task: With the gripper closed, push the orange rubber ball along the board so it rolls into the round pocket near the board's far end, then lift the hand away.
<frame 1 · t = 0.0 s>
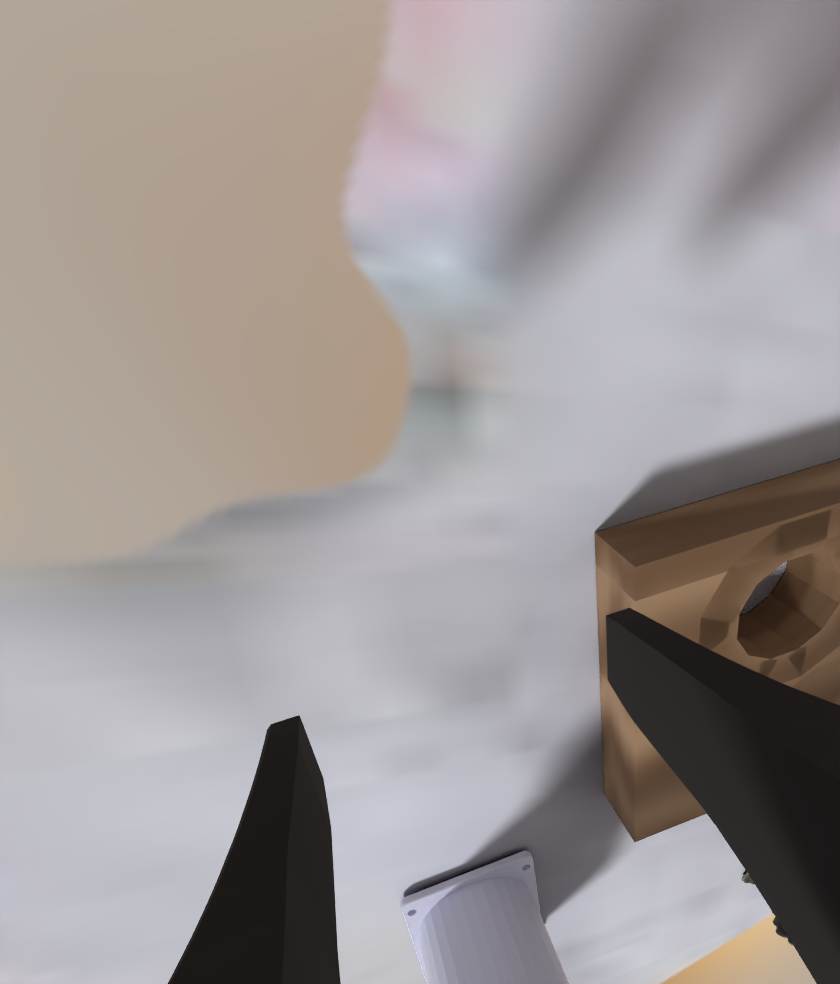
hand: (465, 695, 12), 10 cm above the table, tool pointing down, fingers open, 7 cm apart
board: (734, 634, 30), on the table
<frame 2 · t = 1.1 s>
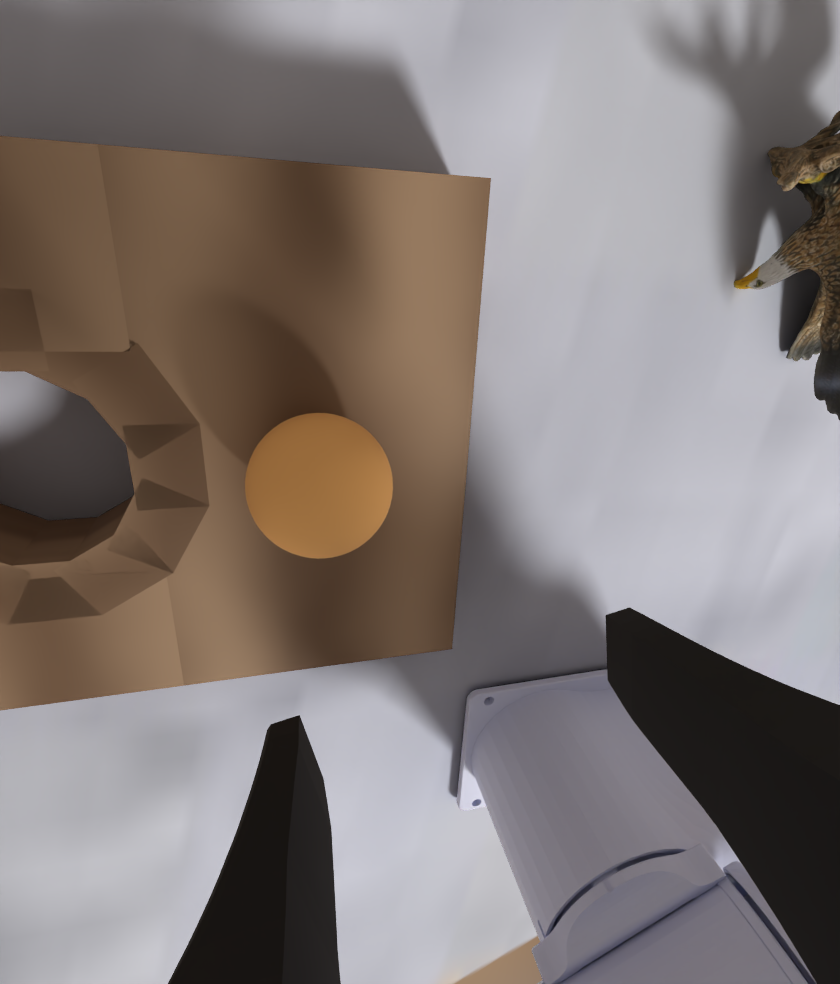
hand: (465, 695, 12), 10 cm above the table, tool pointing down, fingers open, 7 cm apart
ball: (320, 485, 15), point 5 cm above the table, touching board
board: (188, 436, 19), on the table
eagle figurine: (777, 260, 22), on the table
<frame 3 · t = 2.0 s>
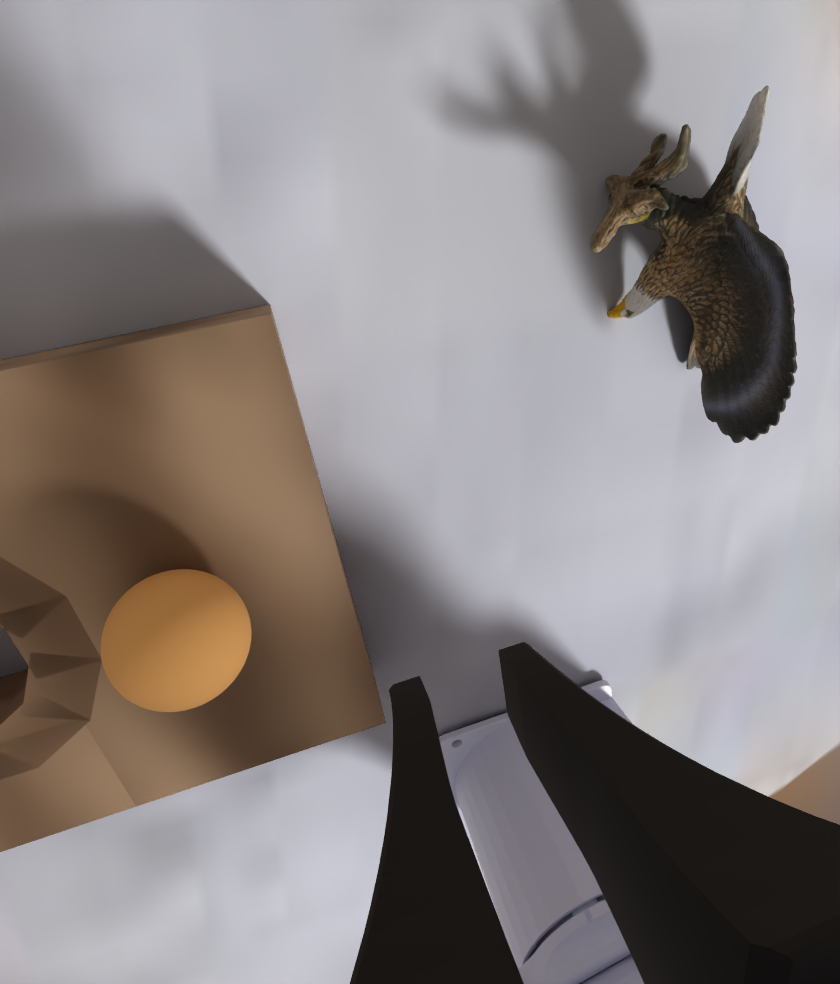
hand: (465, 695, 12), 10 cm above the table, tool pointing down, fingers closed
ball: (179, 638, 16), point 5 cm above the table, touching board
board: (85, 584, 20), on the table
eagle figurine: (650, 277, 21), on the table
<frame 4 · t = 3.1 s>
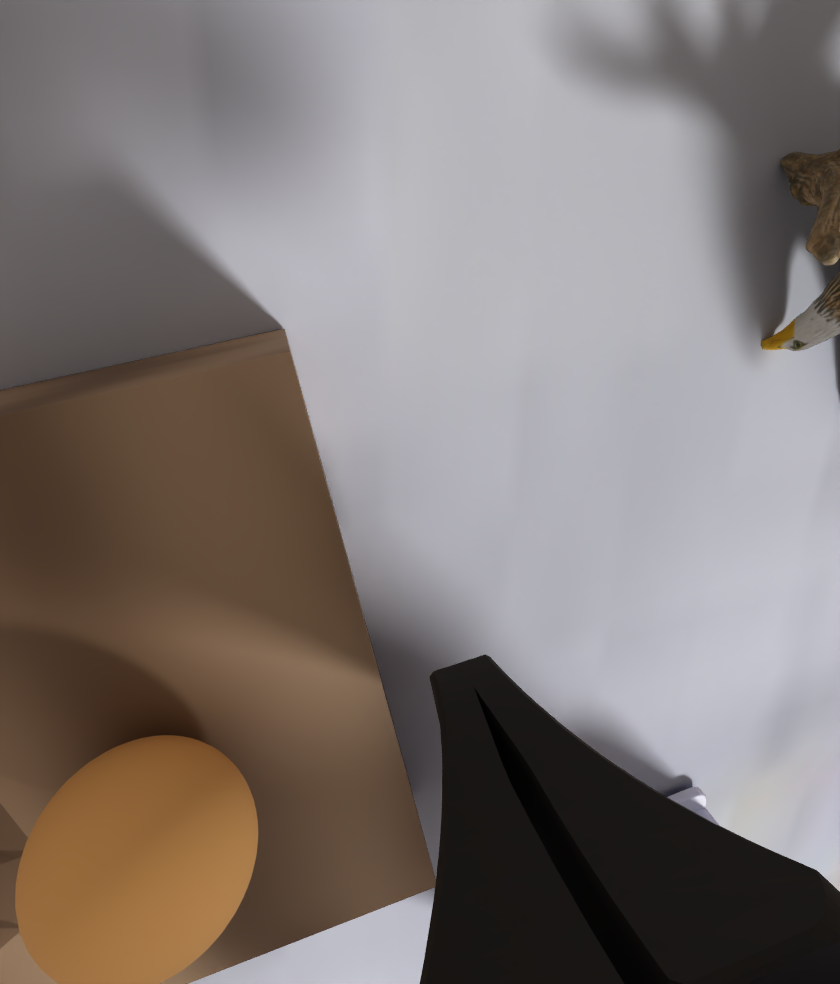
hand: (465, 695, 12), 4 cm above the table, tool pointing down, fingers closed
ball: (147, 851, 10), point 5 cm above the table, touching board
board: (24, 718, 14), on the table
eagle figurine: (817, 294, 15), on the table
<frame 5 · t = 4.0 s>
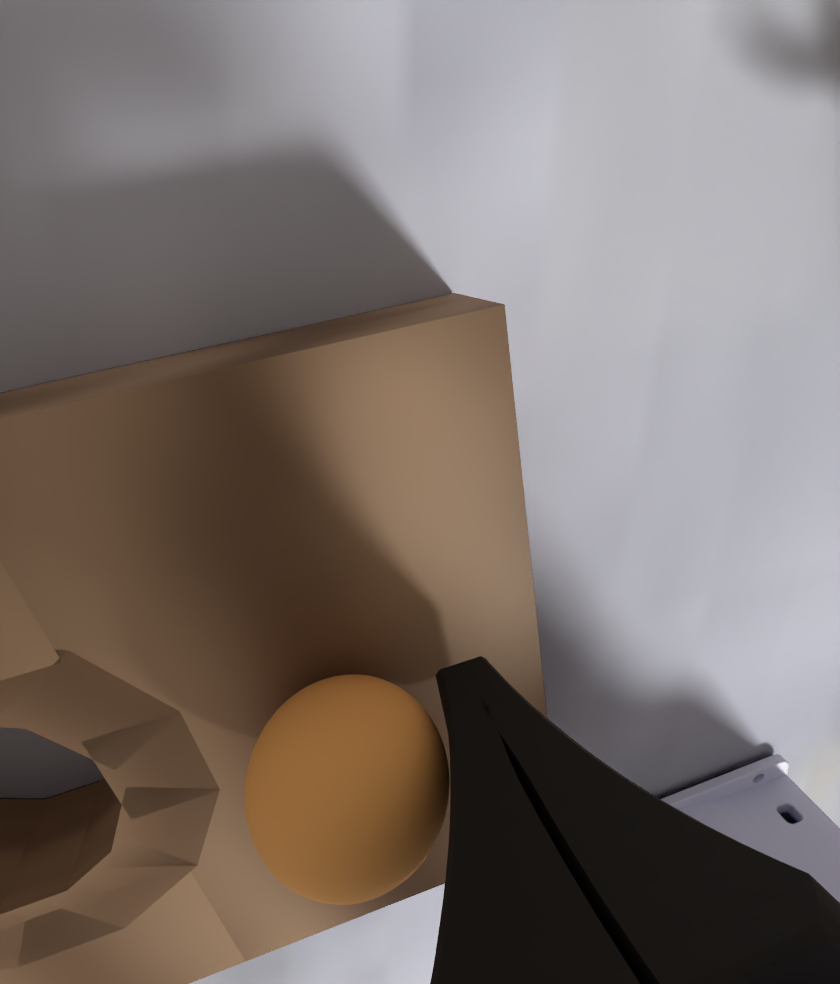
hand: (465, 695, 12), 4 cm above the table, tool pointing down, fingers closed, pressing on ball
ball: (349, 779, 11), point 5 cm above the table, touching board, gripper
board: (182, 671, 15), on the table
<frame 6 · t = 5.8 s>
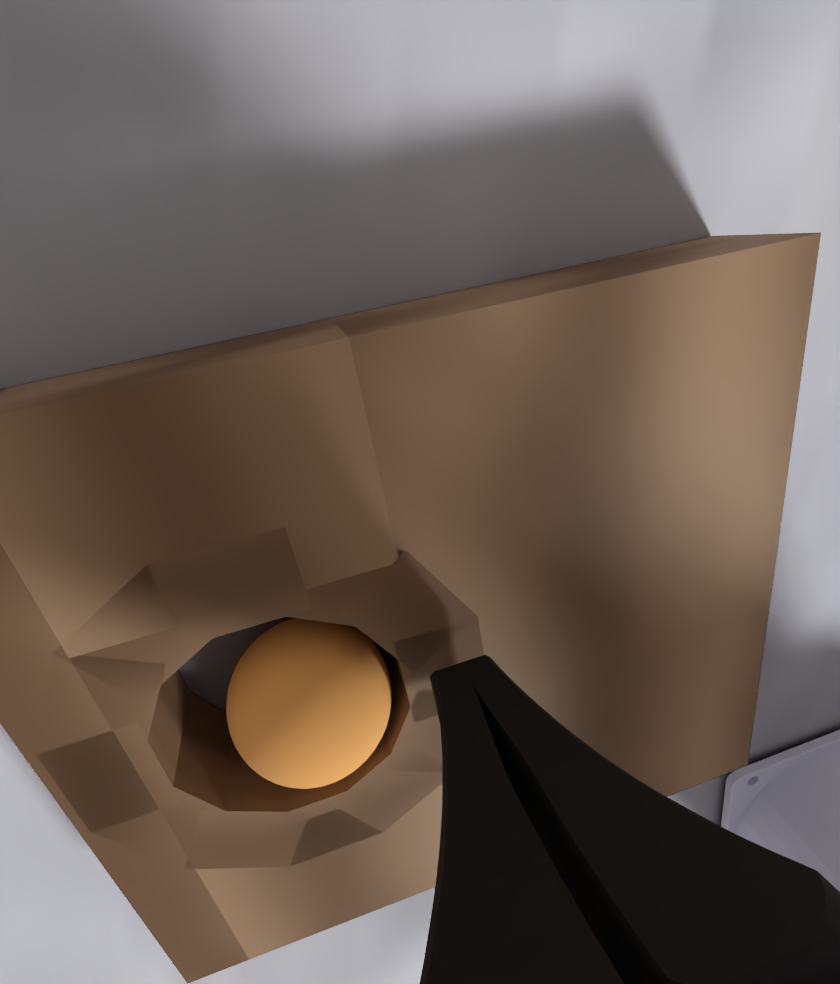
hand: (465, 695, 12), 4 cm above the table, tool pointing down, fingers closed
ball: (311, 697, 14), point 2 cm above the table, tilted 150°
board: (421, 597, 16), on the table
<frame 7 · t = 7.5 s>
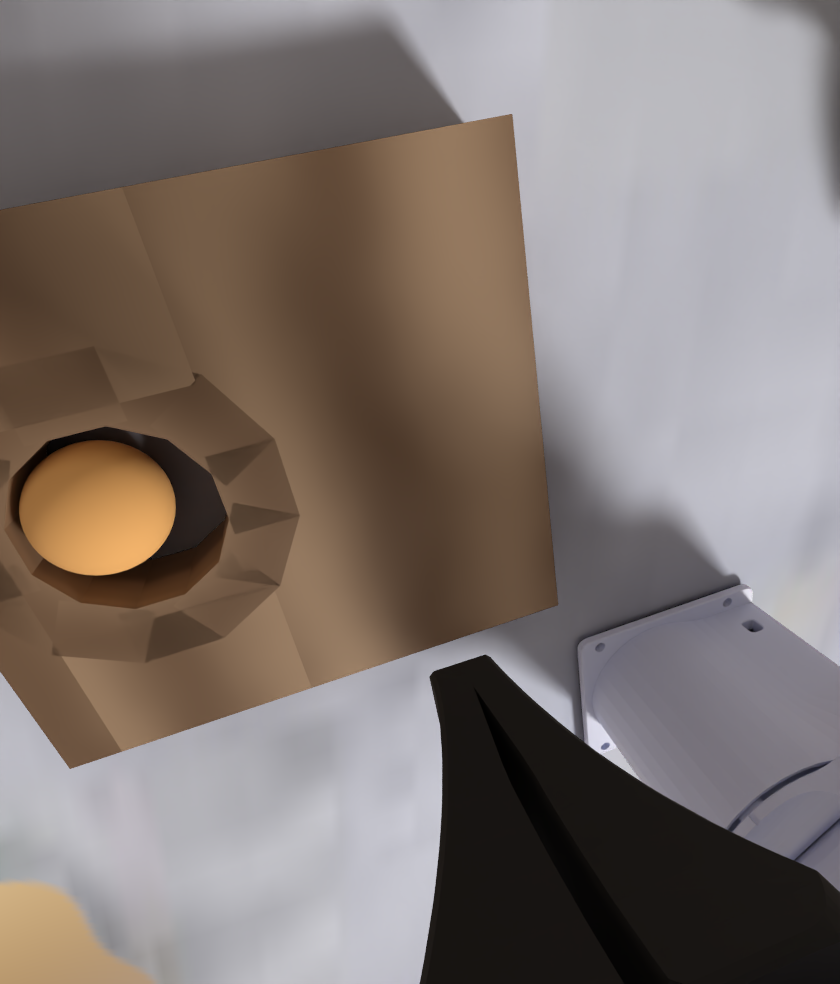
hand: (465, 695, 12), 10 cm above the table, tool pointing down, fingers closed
ball: (102, 507, 16), point 2 cm above the table, tilted 120°
board: (261, 452, 19), on the table
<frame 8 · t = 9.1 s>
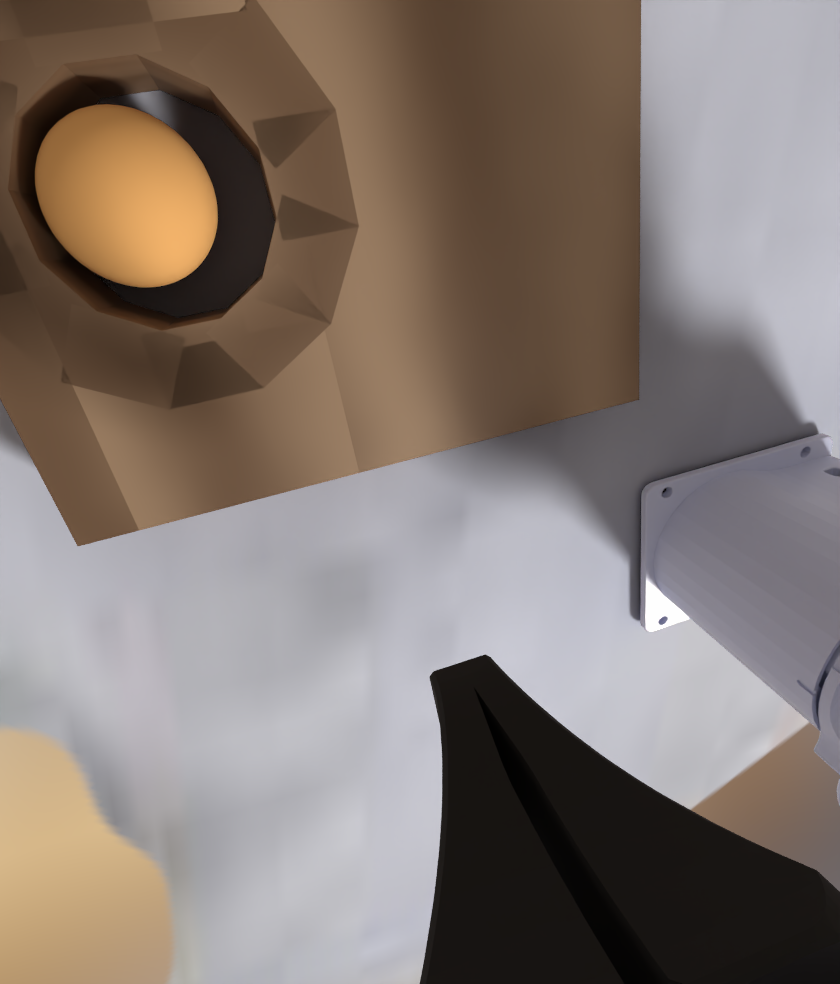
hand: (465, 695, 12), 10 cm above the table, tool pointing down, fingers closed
ball: (132, 202, 14), point 2 cm above the table, tilted 124°
board: (308, 187, 16), on the table
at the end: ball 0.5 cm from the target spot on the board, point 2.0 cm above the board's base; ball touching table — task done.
